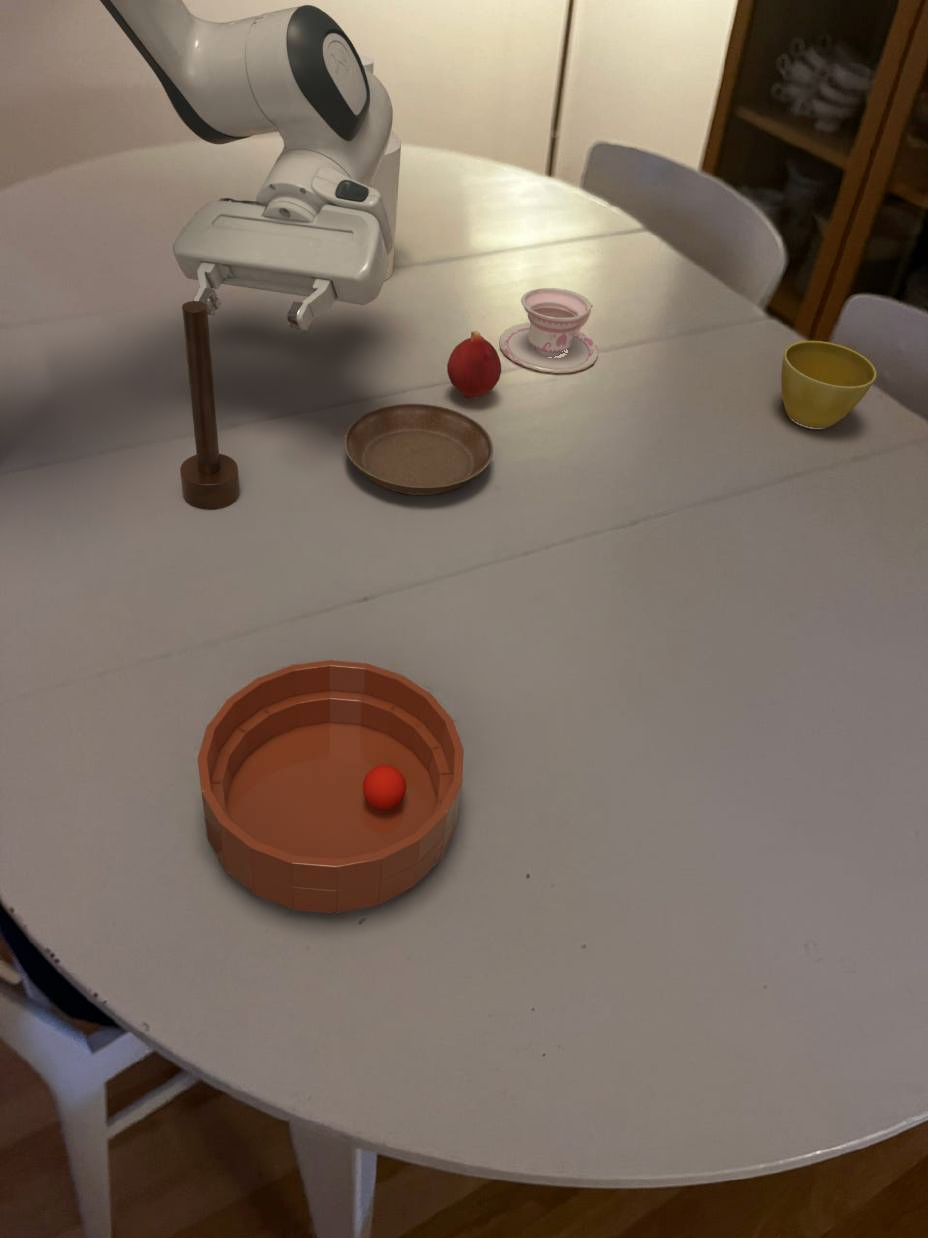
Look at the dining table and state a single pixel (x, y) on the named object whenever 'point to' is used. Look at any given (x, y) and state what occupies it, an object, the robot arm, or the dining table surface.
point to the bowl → (329, 785)
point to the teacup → (551, 332)
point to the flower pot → (823, 382)
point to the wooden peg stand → (204, 422)
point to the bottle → (387, 176)
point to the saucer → (418, 448)
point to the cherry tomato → (384, 787)
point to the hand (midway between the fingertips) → (248, 316)
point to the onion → (474, 366)
